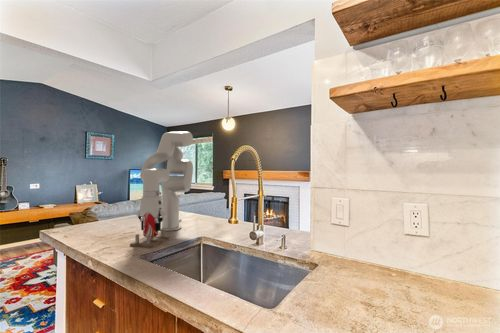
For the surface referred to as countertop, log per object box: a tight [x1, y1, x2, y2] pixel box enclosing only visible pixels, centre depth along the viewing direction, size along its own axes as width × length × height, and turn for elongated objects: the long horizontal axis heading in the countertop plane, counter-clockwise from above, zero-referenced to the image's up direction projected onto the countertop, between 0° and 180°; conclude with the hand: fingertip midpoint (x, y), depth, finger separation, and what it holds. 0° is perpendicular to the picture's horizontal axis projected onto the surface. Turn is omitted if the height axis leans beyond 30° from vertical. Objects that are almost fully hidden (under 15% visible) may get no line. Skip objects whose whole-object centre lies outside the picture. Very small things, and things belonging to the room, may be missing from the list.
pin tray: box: [129, 229, 170, 249], centre depth 121 cm, size 14×12×5 cm
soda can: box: [142, 213, 159, 238], centre depth 122 cm, size 7×7×12 cm
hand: (150, 229), depth 122 cm, fingers closed on soda can, 7 cm apart
